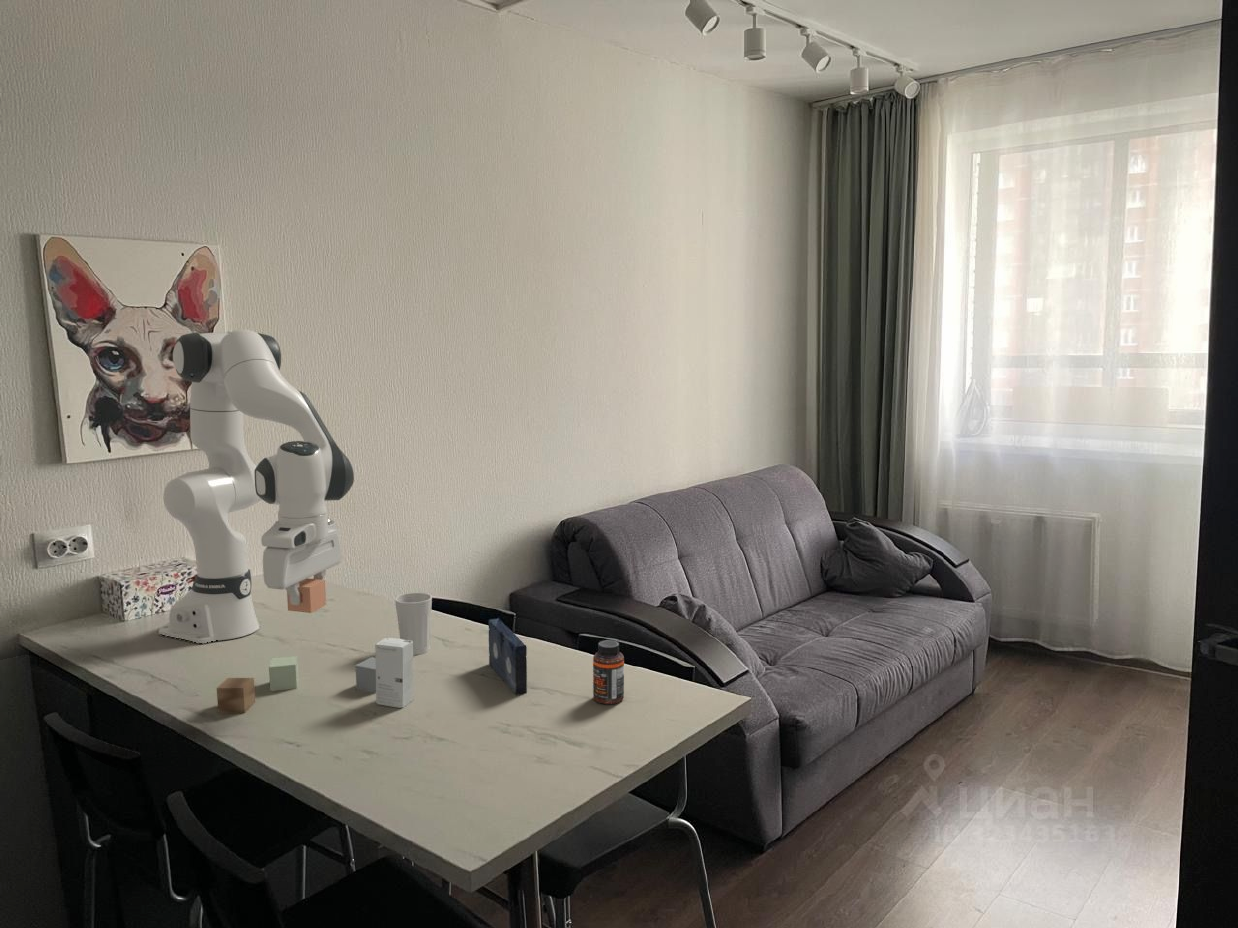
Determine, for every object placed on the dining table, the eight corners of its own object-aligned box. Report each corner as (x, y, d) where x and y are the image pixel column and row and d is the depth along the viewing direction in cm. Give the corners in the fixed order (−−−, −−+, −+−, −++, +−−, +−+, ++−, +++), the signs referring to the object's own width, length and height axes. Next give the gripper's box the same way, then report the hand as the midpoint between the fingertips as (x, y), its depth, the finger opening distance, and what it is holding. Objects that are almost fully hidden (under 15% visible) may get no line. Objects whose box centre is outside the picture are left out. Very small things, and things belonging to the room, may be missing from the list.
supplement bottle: (586, 699, 182) (586, 643, 180) (607, 690, 186) (606, 635, 184) (610, 708, 178) (609, 650, 176) (630, 698, 182) (630, 642, 180)
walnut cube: (218, 713, 176) (216, 687, 176) (229, 702, 181) (227, 677, 181) (244, 713, 176) (243, 688, 176) (255, 702, 181) (253, 677, 181)
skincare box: (375, 705, 180) (372, 644, 178) (387, 696, 184) (385, 636, 182) (404, 708, 178) (401, 647, 176) (416, 699, 182) (413, 639, 180)
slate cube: (356, 689, 188) (355, 665, 187) (373, 680, 192) (372, 656, 191) (376, 693, 186) (375, 669, 185) (392, 684, 190) (391, 660, 189)
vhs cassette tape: (527, 693, 185) (526, 645, 183) (513, 696, 184) (512, 647, 182) (502, 662, 202) (501, 617, 200) (488, 664, 201) (487, 619, 199)
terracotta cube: (287, 610, 179) (286, 584, 178) (303, 602, 183) (302, 577, 183) (311, 613, 177) (309, 587, 177) (326, 605, 182) (325, 580, 181)
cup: (438, 644, 213) (436, 592, 211) (427, 656, 205) (425, 603, 203) (403, 643, 214) (401, 591, 212) (392, 655, 206) (389, 602, 204)
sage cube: (270, 691, 187) (268, 667, 186) (272, 681, 192) (271, 658, 191) (296, 688, 188) (295, 664, 187) (298, 679, 193) (297, 656, 192)
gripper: (320, 515, 189) (323, 582, 191) (254, 539, 169) (259, 613, 171) (348, 517, 187) (350, 585, 189) (285, 542, 167) (289, 616, 170)
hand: (306, 598), depth 180 cm, fingers closed on terracotta cube, 5 cm apart
